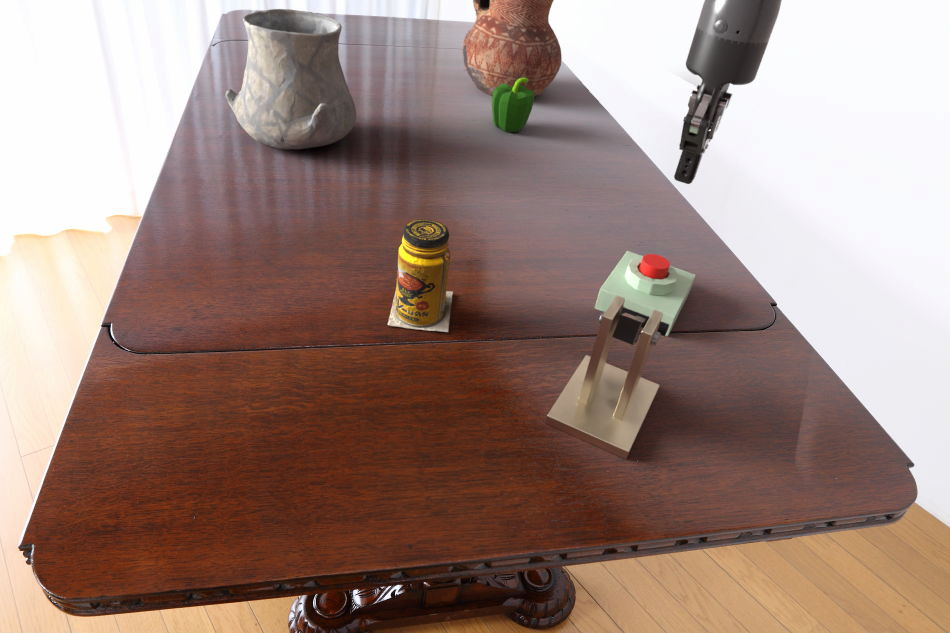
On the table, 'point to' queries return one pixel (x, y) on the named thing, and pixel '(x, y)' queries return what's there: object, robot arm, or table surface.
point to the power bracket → (608, 390)
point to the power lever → (634, 326)
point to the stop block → (646, 290)
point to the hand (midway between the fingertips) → (683, 179)
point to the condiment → (422, 278)
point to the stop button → (654, 266)
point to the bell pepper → (512, 105)
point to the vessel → (293, 81)
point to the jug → (512, 45)
